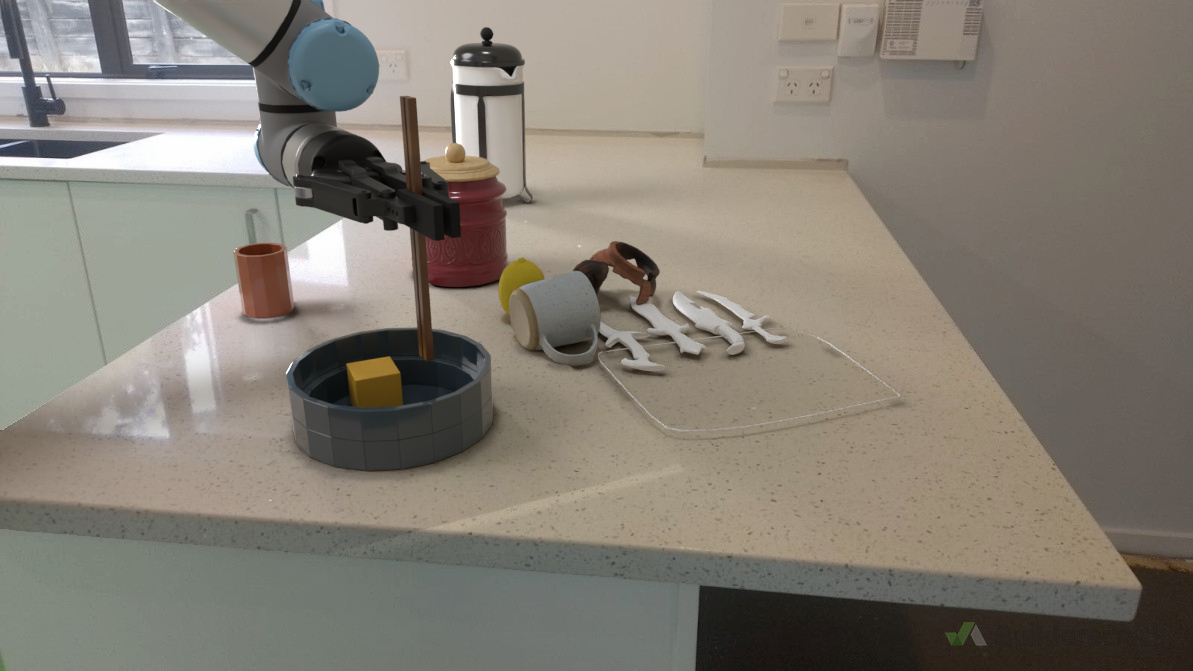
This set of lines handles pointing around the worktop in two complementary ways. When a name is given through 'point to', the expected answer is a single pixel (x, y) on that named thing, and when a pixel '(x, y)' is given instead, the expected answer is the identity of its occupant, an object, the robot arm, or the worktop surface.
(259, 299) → the holder
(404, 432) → the bowl
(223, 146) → the worktop surface
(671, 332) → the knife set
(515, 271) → the lemon
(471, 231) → the kitchen canister
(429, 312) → the chopsticks
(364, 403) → the block
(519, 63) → the coffee press
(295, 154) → the robot arm
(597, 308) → the ceramic mug
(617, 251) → the broken clay pot
